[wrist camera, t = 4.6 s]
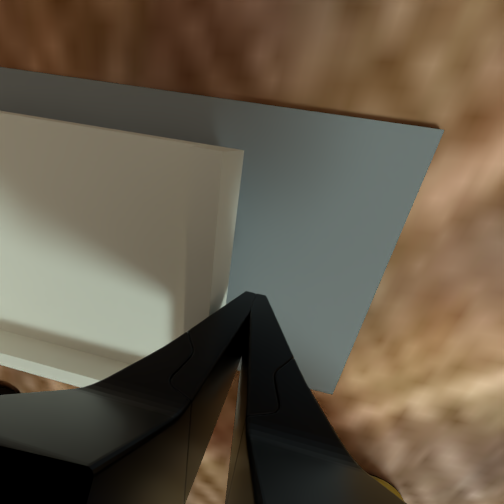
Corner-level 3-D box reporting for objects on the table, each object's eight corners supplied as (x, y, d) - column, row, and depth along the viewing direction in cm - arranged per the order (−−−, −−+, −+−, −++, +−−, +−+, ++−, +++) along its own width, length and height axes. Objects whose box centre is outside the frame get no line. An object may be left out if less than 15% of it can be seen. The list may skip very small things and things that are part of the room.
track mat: (332, 391, 13) (332, 394, 13) (-106, 280, 16) (-109, 281, 16) (441, 130, 8) (444, 129, 8) (-240, 33, 11) (-248, 31, 11)
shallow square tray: (225, 348, 13) (199, 421, 10) (29, 299, 14) (-57, 348, 11) (252, 149, 9) (222, 151, 6) (-27, 104, 10) (-196, 82, 7)
